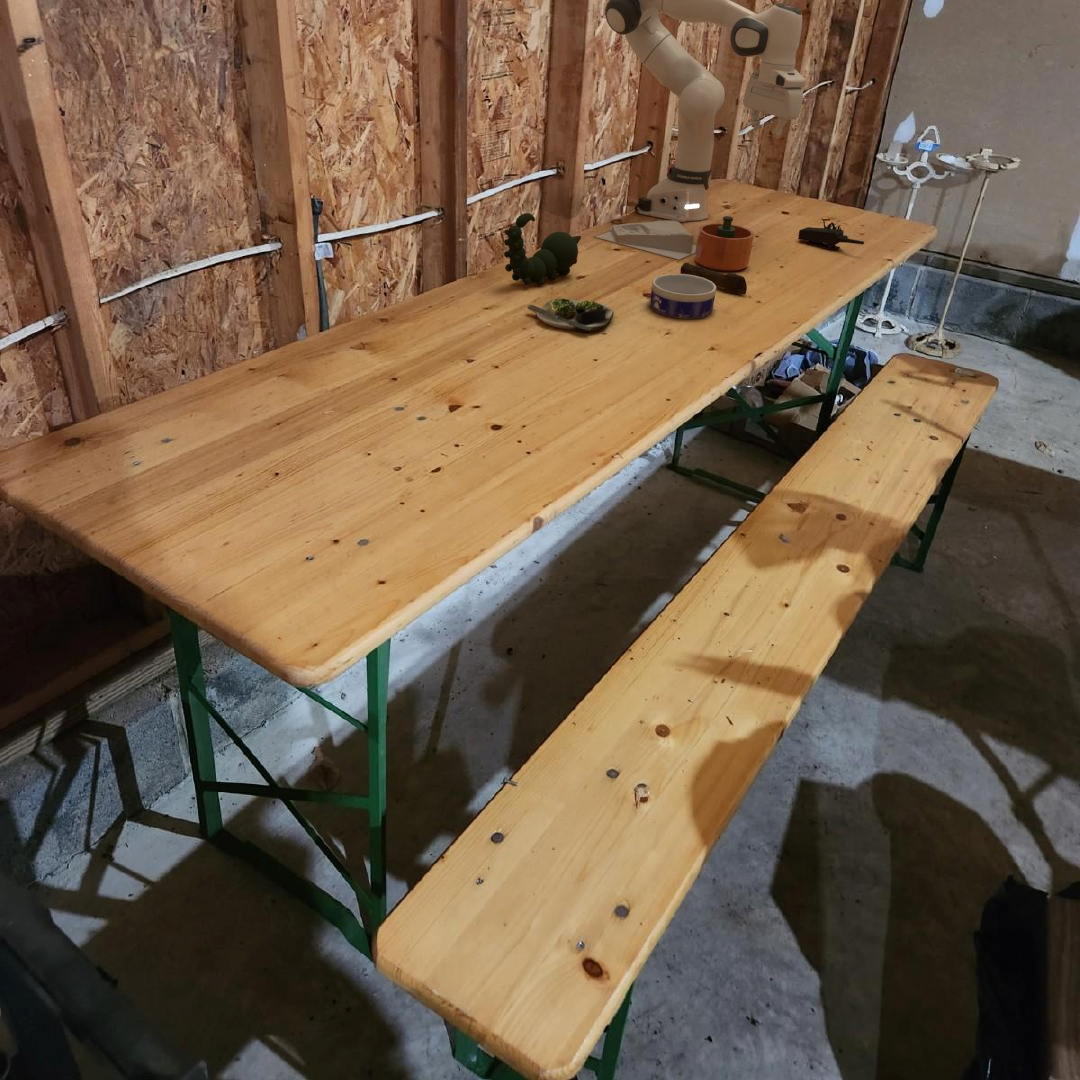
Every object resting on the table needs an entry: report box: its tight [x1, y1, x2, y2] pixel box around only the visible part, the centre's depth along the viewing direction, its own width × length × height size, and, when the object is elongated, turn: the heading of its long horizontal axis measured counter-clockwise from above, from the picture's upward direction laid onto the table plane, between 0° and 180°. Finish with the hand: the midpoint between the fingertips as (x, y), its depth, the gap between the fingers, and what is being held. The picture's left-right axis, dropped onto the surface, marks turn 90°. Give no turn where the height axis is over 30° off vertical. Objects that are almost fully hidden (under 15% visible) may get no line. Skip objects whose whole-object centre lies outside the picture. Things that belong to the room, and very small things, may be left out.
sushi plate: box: [526, 297, 615, 334], centre depth 213 cm, size 19×18×5 cm
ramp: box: [595, 220, 697, 261], centre depth 266 cm, size 28×16×5 cm, turn 53°
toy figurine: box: [503, 212, 582, 287], centre depth 230 cm, size 9×19×25 cm
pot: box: [694, 222, 755, 272], centre depth 252 cm, size 15×15×9 cm
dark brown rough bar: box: [679, 262, 748, 295], centre depth 237 cm, size 19×4×5 cm, turn 48°
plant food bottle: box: [716, 215, 735, 238], centre depth 251 cm, size 5×5×12 cm
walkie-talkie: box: [797, 226, 865, 251], centre depth 271 cm, size 6×6×20 cm
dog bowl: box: [649, 273, 717, 320], centre depth 223 cm, size 15×15×6 cm
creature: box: [821, 217, 845, 234], centre depth 283 cm, size 8×5×8 cm
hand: (766, 131), depth 253 cm, fingers open, 8 cm apart
